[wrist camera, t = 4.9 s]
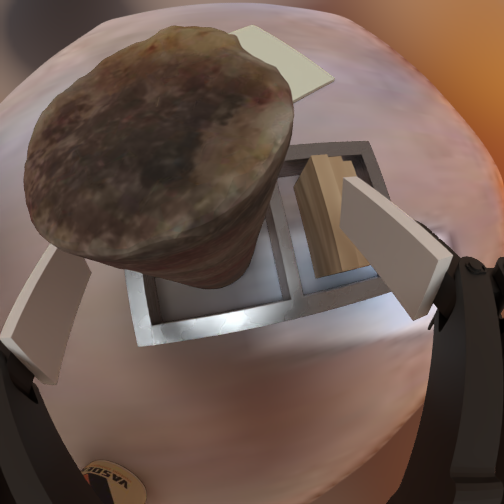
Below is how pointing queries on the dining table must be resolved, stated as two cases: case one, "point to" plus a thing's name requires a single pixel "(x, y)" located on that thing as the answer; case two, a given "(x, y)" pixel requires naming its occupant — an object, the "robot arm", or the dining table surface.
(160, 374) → the dining table surface
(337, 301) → the offcut rack
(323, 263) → the offcut stack
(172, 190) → the dark brown tall cylinder
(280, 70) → the mat
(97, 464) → the coffee cup
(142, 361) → the dining table surface
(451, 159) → the dining table surface
